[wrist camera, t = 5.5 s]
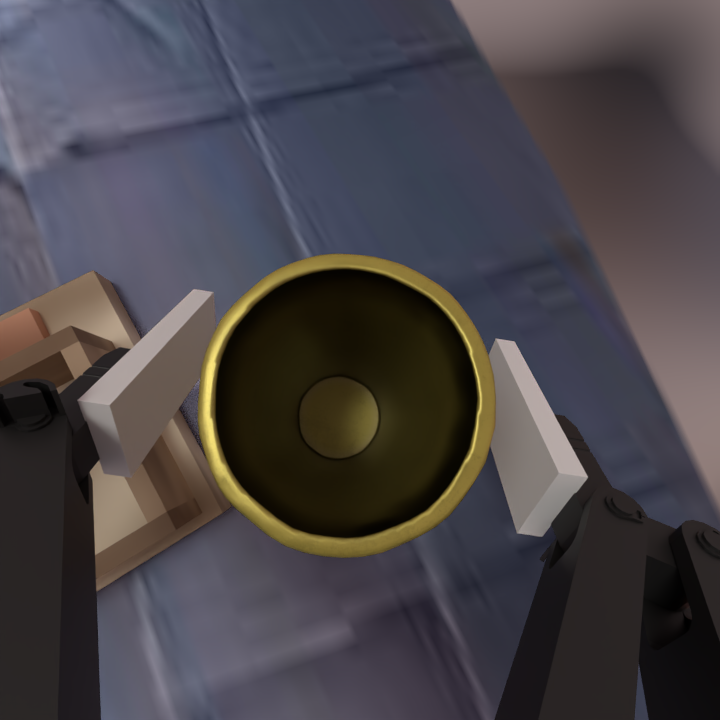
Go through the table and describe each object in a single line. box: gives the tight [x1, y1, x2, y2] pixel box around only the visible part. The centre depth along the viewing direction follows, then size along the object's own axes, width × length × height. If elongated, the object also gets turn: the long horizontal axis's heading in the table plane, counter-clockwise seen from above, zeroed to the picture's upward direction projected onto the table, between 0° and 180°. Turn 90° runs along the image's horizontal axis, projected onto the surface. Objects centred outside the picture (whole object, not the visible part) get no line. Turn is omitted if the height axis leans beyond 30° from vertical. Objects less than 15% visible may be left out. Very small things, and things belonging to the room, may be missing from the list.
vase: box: [198, 254, 496, 558], centre depth 13 cm, size 6×6×14 cm
